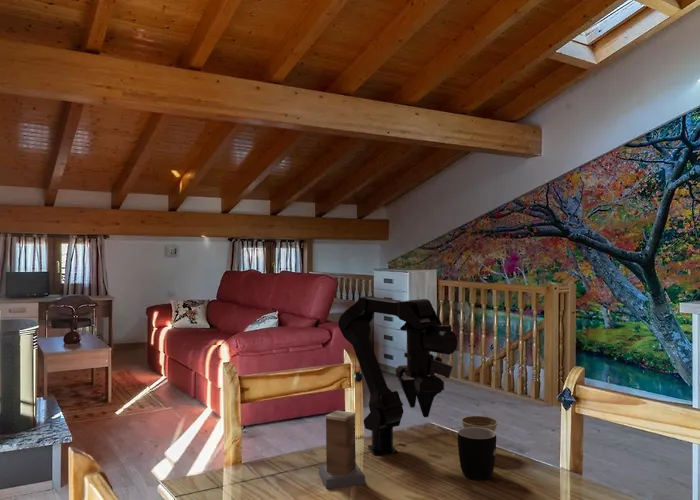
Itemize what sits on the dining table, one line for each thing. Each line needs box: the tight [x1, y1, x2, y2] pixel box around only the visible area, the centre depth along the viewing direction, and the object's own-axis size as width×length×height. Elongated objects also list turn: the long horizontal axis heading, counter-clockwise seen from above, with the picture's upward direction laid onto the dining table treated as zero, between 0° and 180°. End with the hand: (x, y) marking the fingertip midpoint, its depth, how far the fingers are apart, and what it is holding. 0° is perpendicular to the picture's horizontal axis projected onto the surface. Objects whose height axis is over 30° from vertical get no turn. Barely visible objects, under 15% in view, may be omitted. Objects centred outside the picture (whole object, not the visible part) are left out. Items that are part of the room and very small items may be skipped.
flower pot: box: [461, 415, 499, 433], centre depth 150 cm, size 9×9×9 cm
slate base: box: [318, 463, 366, 489], centre depth 134 cm, size 9×9×2 cm
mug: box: [457, 427, 497, 481], centre depth 137 cm, size 12×9×10 cm
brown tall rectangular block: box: [325, 409, 357, 475], centre depth 134 cm, size 5×5×13 cm
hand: (419, 412), depth 143 cm, fingers open, 9 cm apart
